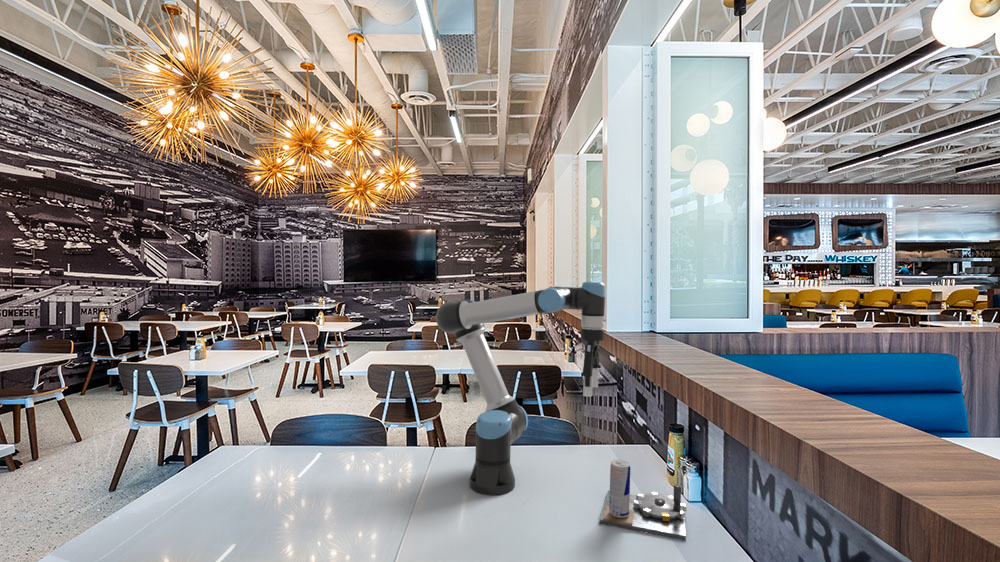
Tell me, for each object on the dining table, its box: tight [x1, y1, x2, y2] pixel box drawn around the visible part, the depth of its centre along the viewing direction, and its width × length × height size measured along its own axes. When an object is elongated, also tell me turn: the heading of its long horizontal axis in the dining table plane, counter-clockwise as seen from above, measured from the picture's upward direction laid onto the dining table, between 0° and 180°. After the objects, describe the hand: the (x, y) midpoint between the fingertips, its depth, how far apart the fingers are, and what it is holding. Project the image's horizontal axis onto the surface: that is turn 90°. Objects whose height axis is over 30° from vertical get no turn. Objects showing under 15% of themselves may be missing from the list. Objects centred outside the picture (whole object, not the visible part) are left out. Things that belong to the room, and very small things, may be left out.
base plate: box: [599, 489, 687, 541], centre depth 144 cm, size 23×20×1 cm
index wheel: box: [634, 484, 687, 521], centre depth 146 cm, size 15×15×8 cm
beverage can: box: [609, 459, 631, 518], centre depth 141 cm, size 6×6×15 cm
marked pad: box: [603, 506, 634, 526], centre depth 141 cm, size 8×8×1 cm
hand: (590, 391), depth 163 cm, fingers open, 13 cm apart
